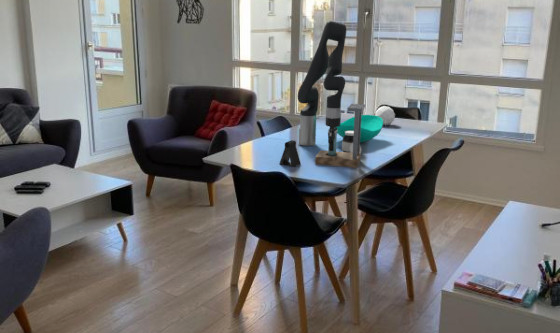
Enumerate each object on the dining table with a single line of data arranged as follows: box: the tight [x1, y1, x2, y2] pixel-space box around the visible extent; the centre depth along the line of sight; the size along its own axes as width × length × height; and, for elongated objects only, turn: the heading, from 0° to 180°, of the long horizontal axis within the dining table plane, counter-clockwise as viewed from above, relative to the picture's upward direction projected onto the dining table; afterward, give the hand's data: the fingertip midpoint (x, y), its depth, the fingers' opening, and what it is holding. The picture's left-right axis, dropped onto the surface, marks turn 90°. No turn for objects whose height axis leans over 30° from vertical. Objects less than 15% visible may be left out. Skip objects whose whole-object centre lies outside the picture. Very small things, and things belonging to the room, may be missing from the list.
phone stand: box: [279, 139, 302, 168], centre depth 278 cm, size 9×6×12 cm, turn 57°
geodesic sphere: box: [374, 105, 396, 126], centre depth 380 cm, size 14×14×14 cm
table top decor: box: [336, 114, 384, 143], centre depth 329 cm, size 40×28×13 cm
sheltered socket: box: [314, 103, 366, 169], centre depth 280 cm, size 22×14×30 cm, turn 75°
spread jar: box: [341, 131, 362, 153], centre depth 301 cm, size 12×11×12 cm
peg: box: [327, 134, 338, 156], centre depth 282 cm, size 4×4×12 cm
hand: (332, 149), depth 283 cm, fingers closed on peg, 4 cm apart
